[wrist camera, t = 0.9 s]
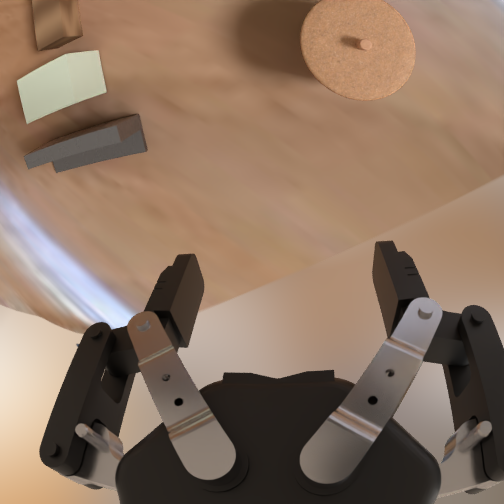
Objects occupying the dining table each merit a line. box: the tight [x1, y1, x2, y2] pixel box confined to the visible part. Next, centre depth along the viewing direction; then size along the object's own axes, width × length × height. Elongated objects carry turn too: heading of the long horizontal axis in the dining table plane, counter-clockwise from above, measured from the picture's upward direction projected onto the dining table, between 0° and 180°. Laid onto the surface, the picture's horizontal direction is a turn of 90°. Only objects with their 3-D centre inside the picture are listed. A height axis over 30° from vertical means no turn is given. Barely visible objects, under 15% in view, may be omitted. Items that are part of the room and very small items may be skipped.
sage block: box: [17, 50, 107, 124], centre depth 28 cm, size 6×8×7 cm
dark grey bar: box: [24, 114, 147, 173], centre depth 34 cm, size 5×16×6 cm, turn 97°
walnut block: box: [32, 0, 83, 51], centre depth 23 cm, size 12×4×4 cm, turn 7°
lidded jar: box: [300, 0, 416, 101], centre depth 24 cm, size 11×11×9 cm
